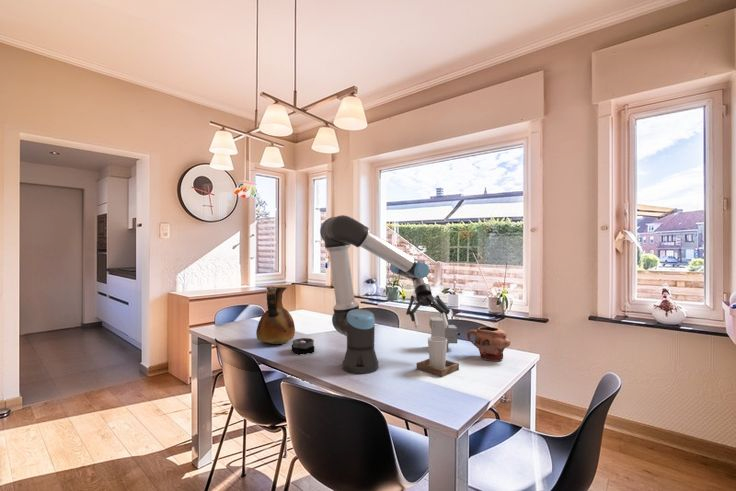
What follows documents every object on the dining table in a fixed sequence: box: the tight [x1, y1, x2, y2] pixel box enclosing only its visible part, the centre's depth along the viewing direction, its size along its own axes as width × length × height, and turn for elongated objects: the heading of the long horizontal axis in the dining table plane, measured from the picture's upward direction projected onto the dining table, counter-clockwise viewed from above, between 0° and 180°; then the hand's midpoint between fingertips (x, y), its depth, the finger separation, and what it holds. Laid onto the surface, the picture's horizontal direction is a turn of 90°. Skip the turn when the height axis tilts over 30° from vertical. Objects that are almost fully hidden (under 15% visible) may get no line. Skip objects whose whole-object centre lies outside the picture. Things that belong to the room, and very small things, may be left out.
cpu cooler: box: [291, 337, 315, 356], centre depth 168 cm, size 10×6×10 cm
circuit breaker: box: [428, 316, 461, 352], centre depth 175 cm, size 8×14×15 cm, turn 89°
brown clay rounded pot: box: [466, 326, 511, 362], centre depth 160 cm, size 20×12×14 cm, turn 56°
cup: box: [427, 336, 447, 369], centre depth 144 cm, size 8×8×12 cm
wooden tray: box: [416, 358, 460, 378], centre depth 144 cm, size 12×12×3 cm
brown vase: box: [255, 285, 296, 345], centre depth 184 cm, size 20×20×30 cm
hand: (431, 326), depth 153 cm, fingers open, 13 cm apart
